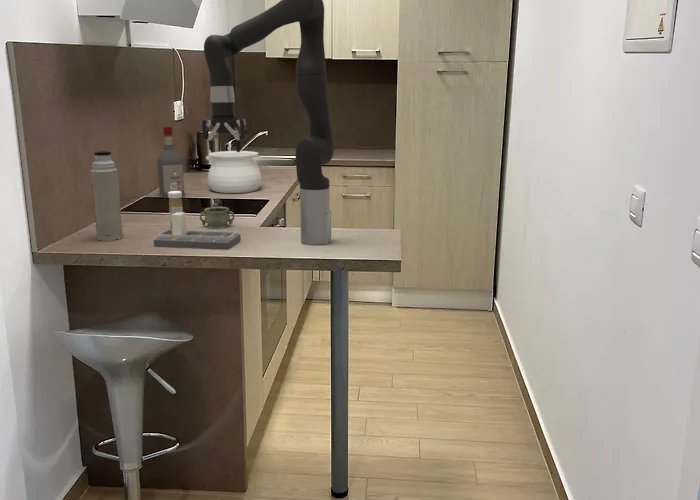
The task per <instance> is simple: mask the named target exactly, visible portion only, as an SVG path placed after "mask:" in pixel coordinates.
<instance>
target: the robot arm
mask: <svg viewBox="0 0 700 500" xmlns="http://www.w3.org/2000/svg"><path fill="white" fill-rule="evenodd" d="M294 23H299V29H300V48H299V52H298V54H297V55H298V56H297V60H296V65H295V81H296V83H295V84H296V85H295V86H296V93H297V96H298V98H299V100H300V103H301V105H302V107H303V109H304V111H305V113H306V116H307V119H308V123H309V136H308V135H307V136H304V137H302V138H300V139H299V140H298V142H297V144H296V147H295V165H296V166H295V168H296V177H297V181H298V183H299V204H300V205H299V208H300V209H299V210H300V214H299V215H300V217H299V218H300V221H299V222H300V242H301V243H302V244H304V243H305V245H310V244H313V245H314V246H315V245H316V246H317V245H328V244H329V243H330V242H331V241H332V210H331V209H330V204H331V203H330V199H331V198H330V178H328V177H326V176H325V175H324V174H323V171H322V170H323V169H322V166H323V165H327V164H328V163H329V162H331V160H332V159H333V156H334V152H335V149H334V148H335V146H334V140H333V134H332V128H331V122H330V113H329V110H330V109H329V100H328V99H329V98H328V80H327V79H328V78H327V69H326V55H325V54H326V52H325V43H324V41H325V39H324V38H325V37H324V35H325V34H324V32H325V31H324V30H325V29H324V28H325V5H324V1H323V0H280V1H278V2H277V3H276V4H275V5H274V4H273V6H271V7H269V8H268V9H266V10H265V11H263V12H262V13H259V14H258V15H255V16H253V17H252V18H249V19H247V20H245V21H243V22H241V23H239V24H237V25H235V26H234V27H232V28H231V30H230V32H229V33H227V34H225V35H224V34H223V35H219V34H211V35H209V36H207V37H206V39H205V41H204V43H203V54H204V58H205V61H206V65H207V68H208V71H209V79H210V83H209V84H210V91H209V92H210V94H209V95H210V96H209V97H210V98H209V101H210V111H211V120H210V119H202V122H201V123H202V125H201V126H202V127H201V128H202V130H201V132H202V133H201V134H202V135H201V136H202V139H205V140H207V141H208V149H209V151H210V153H214V152H216V140H215V138H216V136H217V135H218V134H231V135H232V136H233V137H234V139H236V140H235V147H236V149H235V151H237V152H240V151H243V140H244V139H247V138H248V131H247V120H246V118H242V119H237V117H236V101H235V100H236V99H235V90H234V86H233V85H234V82H233V81H234V79H233V71H232V69H231V68H230V67H229V66H227V62H226V59H229V58H232V57H234V56H236V55H237V54H239V53H240V52H241V51H242V50H244V49H246V48H249V47H251V46H253V45H255V44H258V43H259V42H261V41H262V40H264V39H266V38H267V37H268V36H269V35H271V34H272V33H273V32H274V31H276V30H277V29H280V28H282V27H284V26H287V25H291V24H294ZM237 124H238V127H240V133H239V130H238V129H237V128H236V126H237ZM210 126H212V127H213V129H212V130H211V132H210V131H209V130H210V129H209V127H210ZM313 245H312V246H313Z"/></svg>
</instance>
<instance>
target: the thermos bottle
mask: <svg viewBox="0 0 700 500" xmlns="http://www.w3.org/2000/svg"><path fill="white" fill-rule="evenodd" d="M111 155H112V152H111V151H95V152H94V161H93V162H92V165H91V167H92V169H91V170H90V176H91V177H90V178H91V188H92V200H93V209H94V219H95V231H96V239H97V240H98V241H100V240H101V242H112V241H111V240H113V241H117V240H116V239H119V240H121V239H120V238H122V237H123V238H124V233H123V221H122V213H121V212H122V211H121V210H122V209H121V196H120V187H119V186H120V184H119V174H118V169H117V168H116V163H115V162H114V161H113V160H112V156H111ZM123 238H122V239H123Z"/></svg>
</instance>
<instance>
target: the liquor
mask: <svg viewBox="0 0 700 500" xmlns="http://www.w3.org/2000/svg"><path fill="white" fill-rule="evenodd" d="M162 133H163V135H164V136H163V137H164V138H163V139H164V149H163V151H162V152H161V153H160V155H159V156H158V157H157V159H156V161H157V175H158V177H157V178H158V188H159V189H158V190H159V196H160V197H161V196H162V197H168V192H170V191H181V192H182V196H184V197H185V181H184V178H185V177H184V166H183V165H184V164H183V158H182V157H181V155H180V154H178V152H177V151H176V150H175V147H174V143H173V142H174V141H173V140H174V139H173V127H172V126H163V132H162ZM162 197H161V198H162Z"/></svg>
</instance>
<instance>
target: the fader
mask: <svg viewBox="0 0 700 500" xmlns="http://www.w3.org/2000/svg"><path fill="white" fill-rule="evenodd" d="M171 218H172V233H173V234H172V235H187V234H188V233H187V230H188V229H187V214H186V212H183V213H182V212H176V213H174V214H172V215H171Z"/></svg>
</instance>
